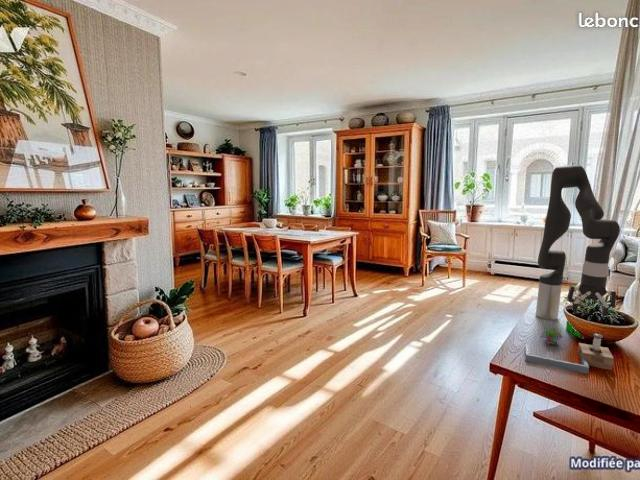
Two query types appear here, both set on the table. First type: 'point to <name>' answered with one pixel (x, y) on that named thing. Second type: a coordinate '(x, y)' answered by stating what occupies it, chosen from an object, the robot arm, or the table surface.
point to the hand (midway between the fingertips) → (588, 314)
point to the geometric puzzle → (552, 336)
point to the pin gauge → (596, 342)
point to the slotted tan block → (596, 356)
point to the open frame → (557, 362)
